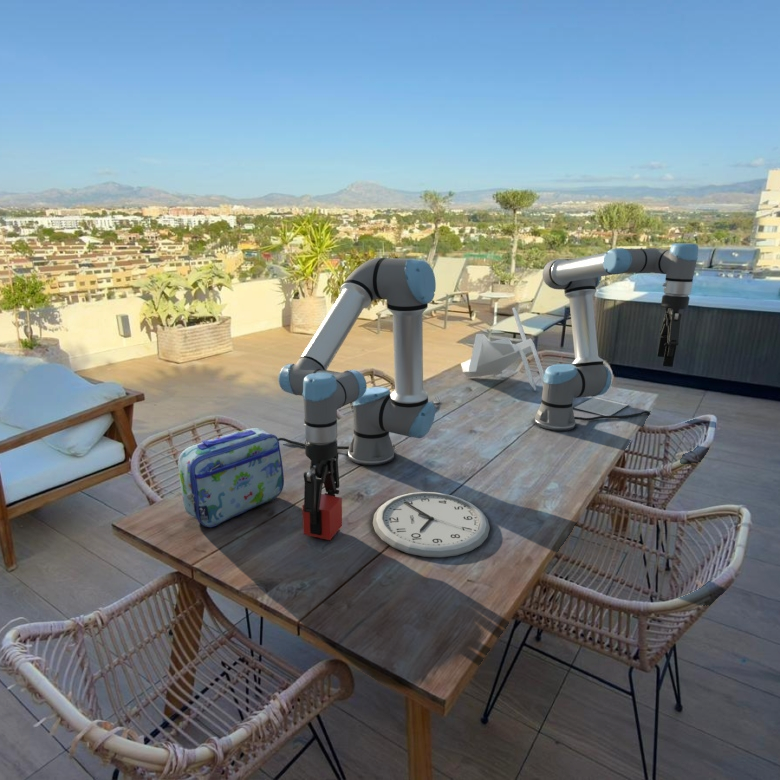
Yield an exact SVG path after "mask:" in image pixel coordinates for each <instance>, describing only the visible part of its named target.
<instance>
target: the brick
mask: <svg viewBox="0 0 780 780" xmlns="http://www.w3.org/2000/svg"><path fill="white" fill-rule="evenodd" d="M319 509H320V510H321V521H322V534H321V535H316V534H312V533H310V513H308V512H304V504H302V528H303V529H302V530H303V533H302V534H303V535H305V536H309V537H314V538H318V539H323V540H327V541H331V540H332V539H333V538H334V536H336V534H337V533H338V532H339V530H340V529H341V528H342V526H343V498H342V497H339V496H336V495H335V496H330V495H325V493H321V500H320V508H319Z"/></svg>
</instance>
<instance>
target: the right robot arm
mask: <svg viewBox="0 0 780 780" xmlns="http://www.w3.org/2000/svg"><path fill="white" fill-rule="evenodd" d="M698 256H699V245H698V244H697V243H686V242H685V243H682V242H680V243H679V242H677V243H676V242H674V243H672V244H671V246H670V249H668V248H666V249H665V248H657V247H648V248H647V247H646V248H623V247H618V248H611V249H609V250H608V251H606V252H602V253H601V252H600V253H598V254H592V255H587V256H583V257H579V258H578V257H577V258H557V259H553V260H550V261H549V262H547V263H546V264H545V266H544V267H543V271H542V273H541V274H542V275H541V276H542V280H543V282H544V284H545V285H546V286H547V287H548V288H551V289H554V290H560V291H562V290H563V291H564V297H566V298H567V299H568V301H569V311H570V320H571V330H572V341H573V352H574V360H573V361H572V363H556V364H552V365H549V366H548V367H547V368H546V369H545V371H544V374H545V375H544V378H543V380H544V383H543V382H542V394H541V402H540V405H539V407H538V410H537V411H536V413H535V416H534V424H535V425H536V426H537V427H539V428H542V429H544V430H549V431H556V432H567V431H572V430H574V429H575V428H576V420H579V421H594V420H599V419H627V418H632V417H639V416H641V415H645V414H647V415H648V416H650V415H652V414H651V413H650V412H649V411H648V410H643V411H641V412H636V413H631V414H626V415H625V414H624V415H611V416H604V415H598V416H594V417H581V416H575V413H574V407H573V405H574V399H578V398H579V399H580V398H588V397H590V398H591V397H592V398H594V397H598V396H602V395H604V394H605V393H607V392H608V390H609V389H610V388H611V385H612V380H613V378H612V377H613V376H612V372H611V370H609V368H608V367H607V366H605V364H604V360H603V359H602V358H601V357H600V356H599V349H598V339H597V330H596V320H595V309H594V299H593V297H594V295H595V294H596V292H597V289H596V288H597V287H598V286H599V285H600V284H601V282H600V281H601V280H602V277H606V276H615V275H621V274H663V275H665V279H664V282H665V283H664V282H663V283H662V285H661V286H662V287H663V292H662V293H663V295H662V296H661V303H660V306H661V307H662V308H665V311H664V315H663V320H662V324H661V327H660V330H659V334H660V337H659V342H658V348H657V354H656V357H657V358H663V360H662V367H668V368H669V367H670V368H673V365H674V360H675V356H676V350H677V346H679V339H680V328H681V319H682V313H681V312H680V310H686V309H688V308H689V303H690V298H691V297H690V295H691V294H692V288H693V284H694V275H695V271H696V266H697V261H698Z"/></svg>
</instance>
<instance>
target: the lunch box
mask: <svg viewBox="0 0 780 780" xmlns="http://www.w3.org/2000/svg"><path fill="white" fill-rule="evenodd" d="M278 438H279V437H278V436H277V435H275V434H272V433H268V432H267V431H265V430H263V429H262V428H260V427H259V428H257V427H253V428H252V427H251V428H247V429H243V430H238V431H235V432H232V433H228V434H225V435H221V436H218V437H215V438H211V439H208V440H202V441H201V442H199V443H197V444H193V445H190V446H188V447H186V448H185V449H184V450H182V452H181V453H180V454H179V457H178V461H177V468H178V476H179V483H180V484H179V485H180V490H181V496H182V502H183V507H184V510H185V512H186V513H187V514H188V515H190V517H193V518H194V519H196V520H197V522H199V524H201V526H203V527H206V528H213V527H214V528H215V527H216V526H219V525H220V524H222V523H224V522H226V521H228V520H230V519H232V518H234V517H237V516H239V515H241V514H243V513H246V512H247V511H249V510H252V509H254V508H256V507H258V506H260V505H263V504H266V503H268V502H271V501H272V500H274V499H276V498H277V497H279V496H280V495H281V493H282V491H283V489H284V485H285V477H284V469H283V468H284V466H283V459H282V452H281V446H280V441H279V440H278Z"/></svg>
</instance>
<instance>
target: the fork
mask: <svg viewBox="0 0 780 780" xmlns="http://www.w3.org/2000/svg"><path fill="white" fill-rule="evenodd" d="M441 397H442V396H438V395H436V396H435V397H434V399H433V404H434V405H435V406H436V404H439V403H440V401H441Z"/></svg>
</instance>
